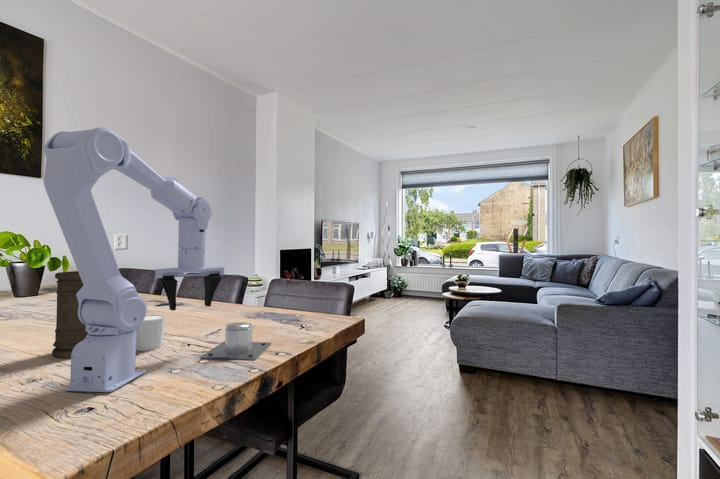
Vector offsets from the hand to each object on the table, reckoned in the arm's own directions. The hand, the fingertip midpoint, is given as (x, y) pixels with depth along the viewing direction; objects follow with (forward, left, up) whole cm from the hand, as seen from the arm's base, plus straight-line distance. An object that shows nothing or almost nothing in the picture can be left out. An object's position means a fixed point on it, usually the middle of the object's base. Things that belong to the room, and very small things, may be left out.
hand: (190, 307), depth 82 cm
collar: (+1, -11, -10) cm, 15 cm away
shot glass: (+2, +11, -10) cm, 15 cm away
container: (-3, +24, -10) cm, 26 cm away
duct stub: (+1, -11, -10) cm, 15 cm away
